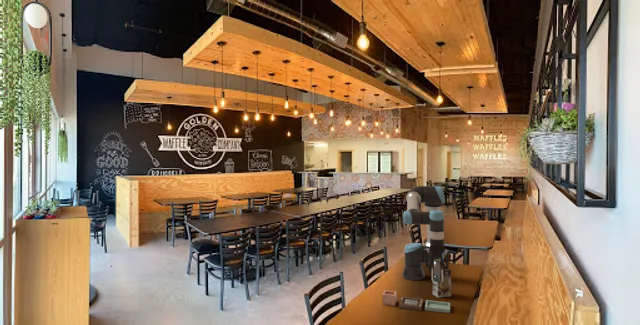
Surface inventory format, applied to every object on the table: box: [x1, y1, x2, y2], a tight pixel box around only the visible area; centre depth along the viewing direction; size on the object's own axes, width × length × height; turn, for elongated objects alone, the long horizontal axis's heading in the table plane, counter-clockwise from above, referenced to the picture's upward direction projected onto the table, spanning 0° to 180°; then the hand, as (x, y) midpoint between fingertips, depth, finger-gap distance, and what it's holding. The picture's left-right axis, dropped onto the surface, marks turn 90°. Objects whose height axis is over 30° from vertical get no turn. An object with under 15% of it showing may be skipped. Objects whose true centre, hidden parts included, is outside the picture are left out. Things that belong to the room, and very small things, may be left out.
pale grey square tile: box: [404, 299, 418, 305], centre depth 212 cm, size 7×7×1 cm
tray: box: [424, 299, 451, 314], centre depth 207 cm, size 10×13×2 cm
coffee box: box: [432, 268, 452, 298], centre depth 226 cm, size 9×6×16 cm
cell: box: [432, 259, 442, 282], centre depth 206 cm, size 5×5×12 cm
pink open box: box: [381, 289, 398, 307], centre depth 215 cm, size 7×7×6 cm
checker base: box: [398, 296, 424, 311], centre depth 212 cm, size 12×12×2 cm
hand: (437, 280), depth 206 cm, fingers closed on cell, 4 cm apart
